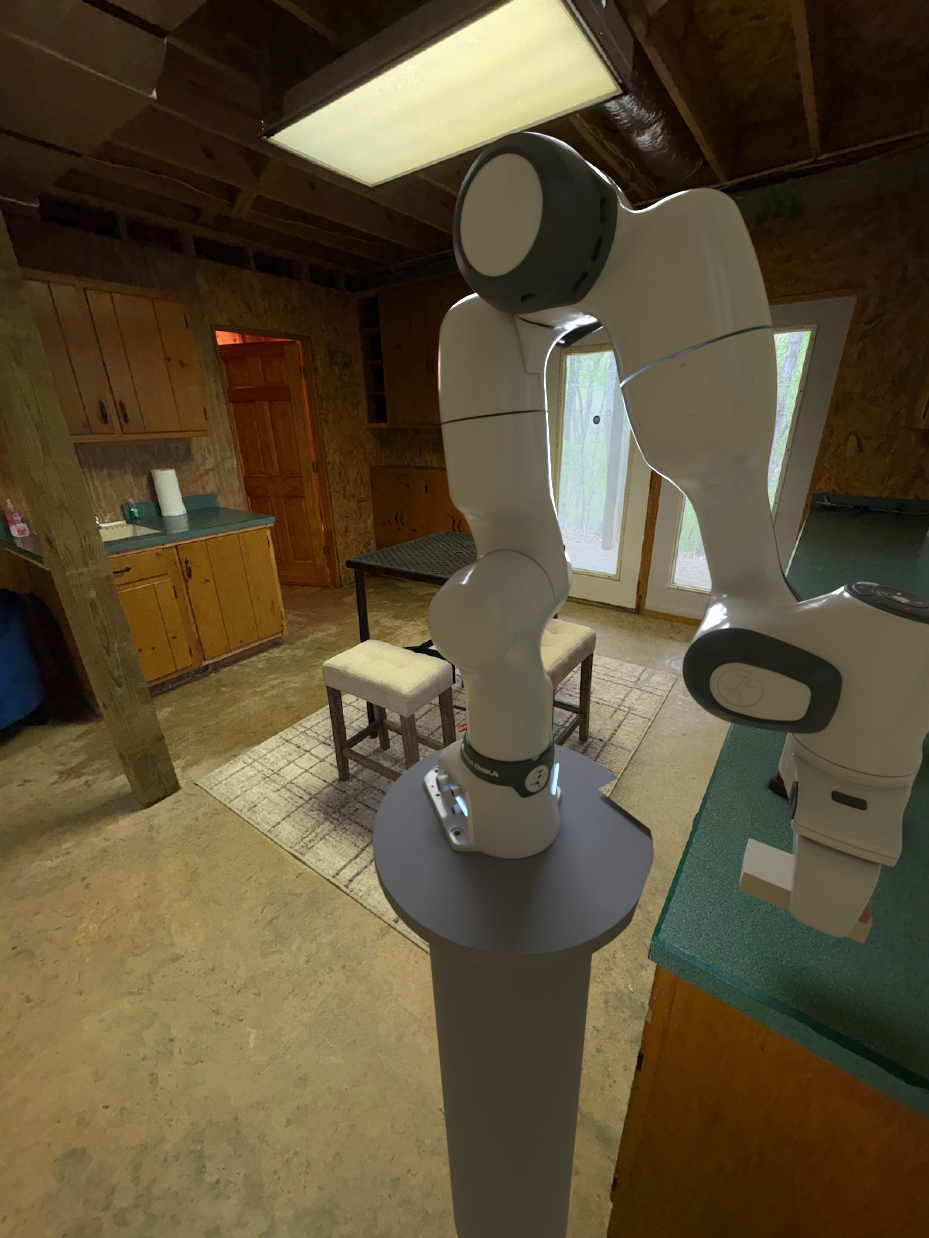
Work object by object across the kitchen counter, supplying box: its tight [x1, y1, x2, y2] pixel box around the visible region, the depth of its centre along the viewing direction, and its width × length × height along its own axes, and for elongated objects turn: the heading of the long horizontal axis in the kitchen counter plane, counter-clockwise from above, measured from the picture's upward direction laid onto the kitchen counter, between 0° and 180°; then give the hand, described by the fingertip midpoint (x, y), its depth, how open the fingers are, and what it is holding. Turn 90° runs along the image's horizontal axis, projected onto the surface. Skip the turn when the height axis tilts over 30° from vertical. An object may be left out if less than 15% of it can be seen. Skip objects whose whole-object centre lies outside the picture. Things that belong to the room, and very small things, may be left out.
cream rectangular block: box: [738, 837, 873, 945], centre depth 47 cm, size 10×5×4 cm, turn 56°
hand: (802, 883), depth 47 cm, fingers closed on cream rectangular block, 5 cm apart
